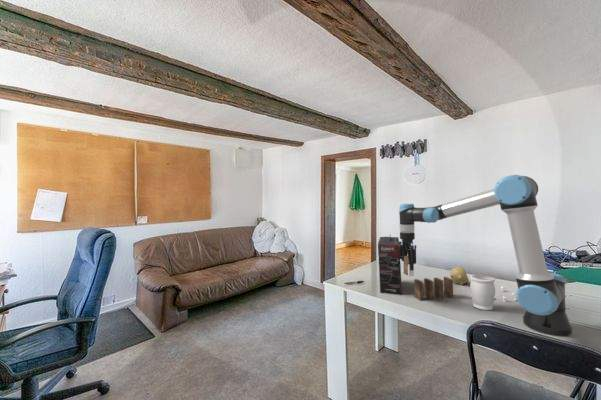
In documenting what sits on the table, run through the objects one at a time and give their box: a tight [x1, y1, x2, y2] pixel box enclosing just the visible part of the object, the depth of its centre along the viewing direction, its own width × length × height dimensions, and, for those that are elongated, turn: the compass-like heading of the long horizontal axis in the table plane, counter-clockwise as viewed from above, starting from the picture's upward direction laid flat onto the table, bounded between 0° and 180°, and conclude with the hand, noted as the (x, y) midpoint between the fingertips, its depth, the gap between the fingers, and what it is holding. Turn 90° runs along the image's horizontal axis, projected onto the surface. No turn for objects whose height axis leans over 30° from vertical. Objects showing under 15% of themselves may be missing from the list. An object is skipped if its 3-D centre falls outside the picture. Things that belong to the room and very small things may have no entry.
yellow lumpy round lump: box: [449, 266, 470, 286], centre depth 171 cm, size 10×12×11 cm
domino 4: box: [433, 277, 444, 300], centre depth 150 cm, size 2×5×10 cm, turn 9°
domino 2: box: [413, 278, 424, 302], centre depth 148 cm, size 2×5×10 cm, turn 9°
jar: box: [469, 274, 496, 311], centre depth 135 cm, size 11×10×15 cm
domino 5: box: [443, 276, 454, 298], centre depth 151 cm, size 2×5×10 cm, turn 9°
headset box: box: [377, 233, 402, 295], centre depth 168 cm, size 24×13×33 cm, turn 161°
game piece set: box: [500, 285, 518, 302], centre depth 150 cm, size 19×20×4 cm
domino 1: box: [403, 255, 409, 276], centre depth 147 cm, size 2×5×10 cm, turn 9°
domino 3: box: [423, 278, 434, 300], centre depth 149 cm, size 2×5×10 cm, turn 9°
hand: (408, 274), depth 147 cm, fingers closed on domino 1, 5 cm apart
